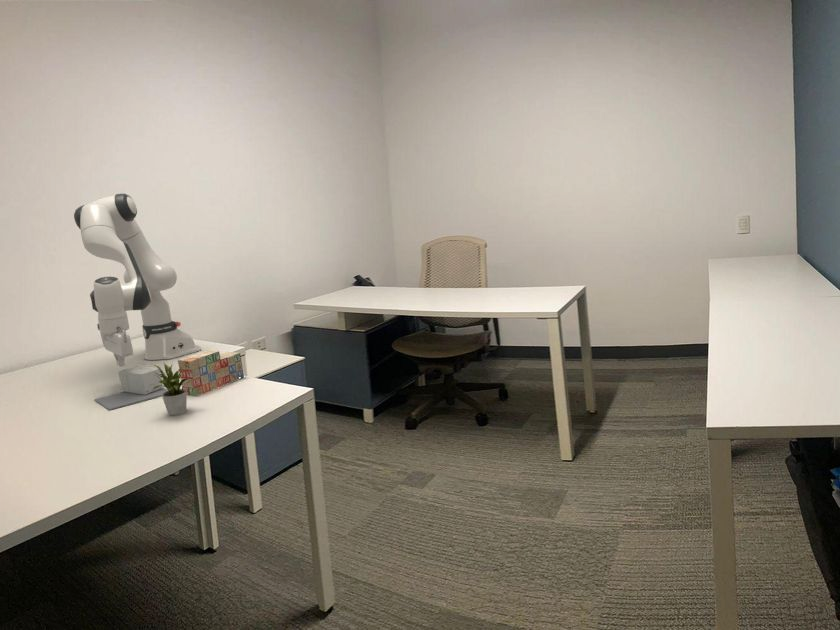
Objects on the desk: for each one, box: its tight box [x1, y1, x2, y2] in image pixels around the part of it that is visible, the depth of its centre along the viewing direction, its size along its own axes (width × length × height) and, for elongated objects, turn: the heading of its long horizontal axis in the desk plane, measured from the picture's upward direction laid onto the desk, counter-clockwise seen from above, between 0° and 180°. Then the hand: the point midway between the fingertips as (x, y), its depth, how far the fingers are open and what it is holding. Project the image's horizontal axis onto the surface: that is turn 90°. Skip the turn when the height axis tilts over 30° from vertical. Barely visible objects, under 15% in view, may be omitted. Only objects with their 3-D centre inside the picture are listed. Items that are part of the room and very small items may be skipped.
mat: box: [94, 387, 168, 411], centre depth 206 cm, size 20×16×1 cm
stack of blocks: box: [177, 349, 244, 397], centre depth 210 cm, size 21×6×12 cm, turn 149°
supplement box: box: [118, 365, 164, 395], centre depth 210 cm, size 7×7×13 cm
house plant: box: [142, 360, 192, 416], centre depth 185 cm, size 14×14×16 cm
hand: (121, 365), depth 209 cm, fingers closed
